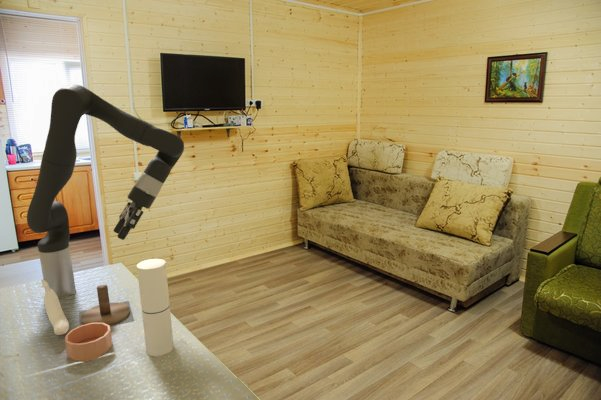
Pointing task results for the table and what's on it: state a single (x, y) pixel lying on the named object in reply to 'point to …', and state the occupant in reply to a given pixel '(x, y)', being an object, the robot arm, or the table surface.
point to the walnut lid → (105, 310)
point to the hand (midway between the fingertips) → (118, 235)
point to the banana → (54, 310)
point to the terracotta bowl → (88, 341)
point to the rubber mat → (127, 319)
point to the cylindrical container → (155, 306)
